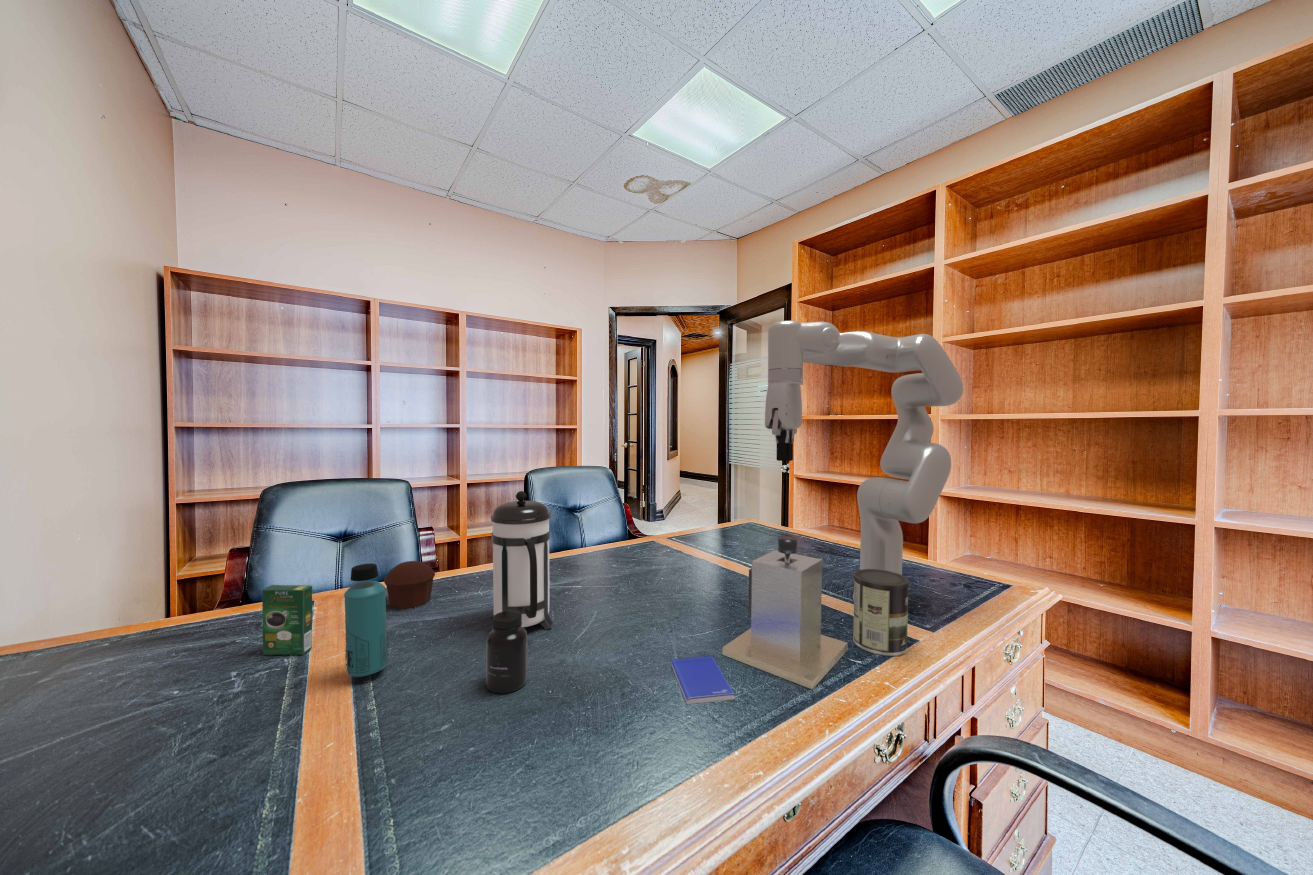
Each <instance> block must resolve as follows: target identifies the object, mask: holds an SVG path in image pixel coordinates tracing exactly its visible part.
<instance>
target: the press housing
mask: <svg viewBox="0 0 1313 875" xmlns="http://www.w3.org/2000/svg"><path fill="white" fill-rule="evenodd" d="M822 580H823V559H822V558H819V557H818V558H816V557H811V556H807V555H803V554H802V555H801V554H797V553H795V554H790V563H787V562H785V553H781V552H779V551H778V549H774V550H772V551H769V552H768V553H766V554H764V555H761V556H760V557H758V558H755V559H754V560H752V561H751V568H750V569H748V605H747V606H748V609H747V610H748V612H747V613H748V615H747V616H748V618H750V626H751V627H750V628H749V629H746V631H744V632H742V633H741V634H740V635H738V636H737V637H735V638H734V639H732V640H731V641H729V642H728V643H727V644H725V645H723V646H722V655H723V656H725V657H727V658H730V659H733V660H734V661H737V662H740V663H742V664H746V665H748V666H750V667H752V668H755V669H758V670H760V671H763V672H766V673H769V674H771V675H772V676H773V675H774V676H775V677H779V678H781V679H783V680H786V681H789V682H791V683H794V684H797V685H800V686H801V687H804V688H807V689H810V690H813V689H814V688H816V686H817V685H818V684H819V683H820V682H821V681H822V679H823V678H825V676H826V675H828V673H829V672H830V670H831V669H833V667H834V666H835V665H836V664H837V663H838V662H839V661H840V660H841V659H842V657H844V655H845V654H846V653H847V652H848V651H849V650H848V649H849V643H848V642H846V641H843V640H840V639H836V638H833V637H829V636H826V635H823V634H822V590H823V588H822V586H823V585H822V584H823V581H822Z"/></svg>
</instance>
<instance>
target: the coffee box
mask: <svg viewBox="0 0 1313 875" xmlns="http://www.w3.org/2000/svg"><path fill="white" fill-rule="evenodd" d="M261 592H262V594H261V595H262V597H261V598H262V599H261V600H262V604H261V605H262V655H263V656H275V655H276V656H280V655H281V656H282V655H283V656H285V655H286V656H287V655H289V656H298V655H299V656H300V655H302V656H303V655H305V654H307V653H308V652H310V651H311V650H312V649H313V585H304V584H303V585H300V584H299V585H296V584H295V585H293V584H292V585H288V584H287V585H286V584H271V585H269V586H267V587H264V588H263V589H262V591H261ZM311 648H312V649H311ZM310 649H311V650H310ZM309 650H310V651H309ZM306 652H307V653H306Z"/></svg>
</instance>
